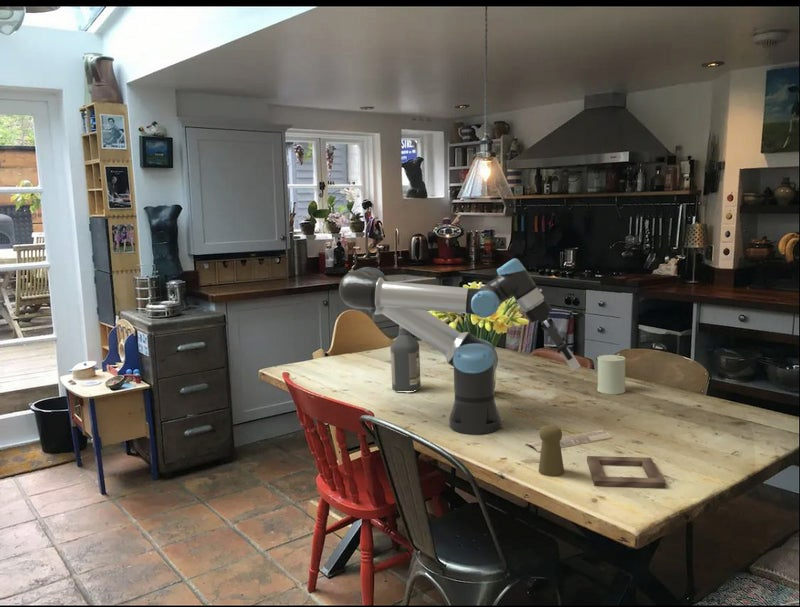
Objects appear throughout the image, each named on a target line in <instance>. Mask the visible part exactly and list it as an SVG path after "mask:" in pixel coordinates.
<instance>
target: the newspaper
mask: <svg viewBox="0 0 800 607" xmlns="http://www.w3.org/2000/svg"><path fill="white" fill-rule="evenodd" d="M611 439H613V436H612V435H611V434H610V433H609V432H607V431H606V430H602V429H598V430H592V431H587V432H582V433H576V434H570V435H566V436H565V435H564V436H562V439H561V440H560V446H561V449H563V448H564V449H565V448H568V447H575V446H579V445H583V444H589V443H594V442H598V441H599V442H600V441H605V440H611ZM526 445H527V446H529V445H530V446H531V447H533V448H534V449H535V450H536V451H537V453H541V447H542V440H540V441H534V442H529V443H525V444H524V446H526ZM527 446H526V447H527Z"/></svg>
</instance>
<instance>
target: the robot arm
mask: <svg viewBox="0 0 800 607" xmlns="http://www.w3.org/2000/svg"><path fill="white" fill-rule="evenodd" d="M496 272H497V276H496V277H495V278H494V279H492V280H491V281H489V282H487V283H485V284H484V285H482V286H481V287H480V288H475V287H474V288H473V287H460V286H448V285H438V284H437V285H436V284H424V283H410V282H400V281H391V280H390V279H388V278H387V277H386V275H385V274H384V273H383V272H382V271H381V270H380V269H377V268H376V267H370V266H364V267H361V268H359V269H356V270H352V271H350V272H348V273H347V274H345V275H344V276H343V277H342V279H341V280H340V282H339V286H338V293H339V296H340V299H341V300H342V302H343V303H344V304H345V306H348V307H349V308H352V309H359V310H360V309H361V310H364V309H366V310H367V311H369V312H370V313H372V314H373V315H375V316H377V315H383V316H385V317H386V318H388V319H390V320H391V321H392V322H394V323H395V324H397V325H400V326H401V327H403V328H404V329H406V330H408V331H409V332H410V334H411V335H414V336H415V337H417V338H418V339H420V340H421V341H423V342H424V343H426V344H427V345H429V346H430V347H431V348H433V349H435V350H437V352H438V353H439V352H440V353H441V354H442V355H444V356H445V359H446V363H447V364H449V365H450V366H452V367H453V383H454V384H453V385H454V389H453V390H454V392H453V393H454V402H453V405H452V409H451V411H450V416H449V423H448V424H449V428H450V429H451V430H453V431H455V432H457V433H461V434H462V433H463V434H466V435H468V434H469V435H470V434H471V435H481V434H482V435H483V434H489V433H492V432H493V433H494V432H496V431H498V430H500V429H501V427H502V416H501V414H500V412H499V409H498V406H497V402H496V398H495V395H496V394H495V372H496V369H497V367H498V363H499V358H498V354H497V350H496V348H495V346H494V345H493V344H492V343H491V342H489V341H488V340H485V339H483V338H478V337H476V336H475V335H473V334H472V333H470V332H468V331H465V332H460V331H459V330H457V329H455V328H454V327H452V326H450V325H449V324H448V323H446V322H445V321H443V320H442V319H440V318H438V317H437V316H435V315H434V314H432V313H431V312H429V311H432V312H433V311H434V312H443V313H452V314H453V313H455V314H467V315H475V316H477V317H480V318H489V317H492V316H493V315H495V314H496V312H497V311H498V310H499V307H500V306H501V304H503V303H504V302H506V301H507V300H509V299H511V298H512V297H513V298H514V300H515V302H516V303H517V304H518V306H519V307H520V309H521V311H522V312H524V313H525V314H524V315H525V316H526V317H527V319H528V321H529V322H530V323H535V322H537V321H539V322H540V323H541V324H539V326H540V328H541V329H542V330H543V331H544V333H545V334H546V336H547V337H550V339H551V340H552V341H553V343H554V344H555V345H554V346H556V347H557V350H556V353H557V354H559V353H560V355H561V356H562V358H563V359H564V361H566V364H567V365H568V366H569V368H570V369H571V370H572V372H574V371H576V370H577V369H578V368H580V367H581V365H580V363H579V361H578V360H577V358H576V357H575V355H574V354H573V352H572V351H571V349H570V348H569V346H568V345H567V343H566V342H565V341H566V338H565V337H562V336H561V335H560V334H559V332H558V331H559V330H558V327H557V326H556V325H555V322H554V320H553V319H552V318H551V317H550V318H549V317H548V316H547V315H548V314H550V313H551V312H552V311H553V308H552V306H551V305H550V304H549V302H548V300H546V299H545V296H544V295H543V294H542V292H543V289H542V288H538V285H537V284H536V282H535V281H534V280H533V278H532V276H531V275H530V274H529V272H528V270H527V269H526V268H525V267H524V265H523V263H522V262H521V261H520V260H519V259H518V258H511V260H508V261H507V262H506V263H504V264H503V265H502V266H499V268H497V269H496Z"/></svg>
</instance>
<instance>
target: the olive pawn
mask: <svg viewBox="0 0 800 607" xmlns="http://www.w3.org/2000/svg"><path fill="white" fill-rule="evenodd" d="M562 437H563V431H562V429H561V428H560V427H558V426H556V425H549V424H548V425H544V426H542V427H541V429H540V430H539V438H540V439H541V441H542V447H541V452H540V457H539V464H538V473H539V474H541V475H542V476H545V477H559V476H562V475H564V474H565V468H564V467H565V466H564V461H563V455H562V454H563V453H562V448H561V446H560V440H561V439H562Z"/></svg>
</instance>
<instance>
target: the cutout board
mask: <svg viewBox="0 0 800 607" xmlns="http://www.w3.org/2000/svg"><path fill="white" fill-rule="evenodd" d="M586 461H587V466H588V469H589V472H590V476H591V478H592V483H593V486H598V487H599V486H600V487H625V488H652V489H653V488H656V489H666V482H665V480H664V478H663V477H662V475H661V473H660V471H659V469H658V467H657V466H656V464H655V463H654V460H653V459H652V457H646V456H645V457H643V456H642V457H641V456H607V455H606V456H604V455H602V456H600V455H598V456H597V455H587V456H586ZM602 466H627V467H630V466H632V467H633V466H634V467H635V466H636V467H641V468H642V469H643V470H644V472H645V475H646V477H637V476H636V477H635V476H634V477H633V476H605V474H604V472H603V471H604V470H603V468H602Z"/></svg>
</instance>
